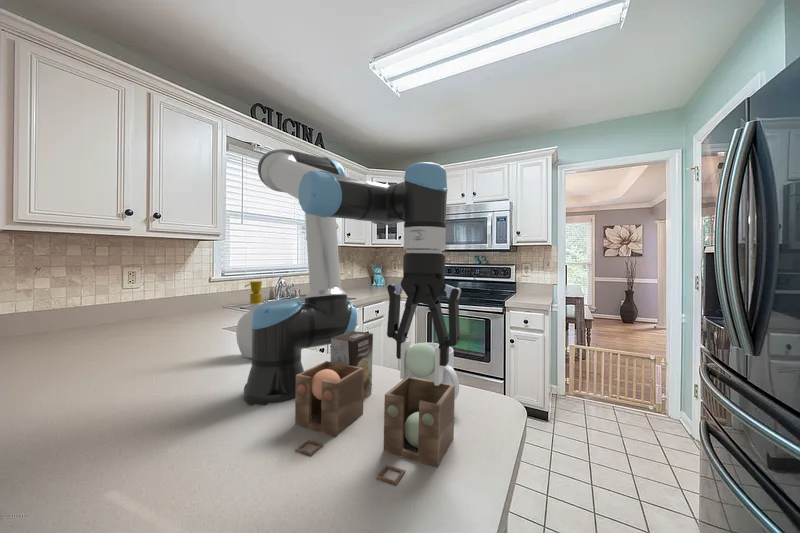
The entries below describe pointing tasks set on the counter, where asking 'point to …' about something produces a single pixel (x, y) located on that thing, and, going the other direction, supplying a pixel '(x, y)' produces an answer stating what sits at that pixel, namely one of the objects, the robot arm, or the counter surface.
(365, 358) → the coffee box
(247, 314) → the soap bottle
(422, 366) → the sage ball
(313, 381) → the terracotta ball
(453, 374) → the mug
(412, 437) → the sage ball
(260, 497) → the counter surface
